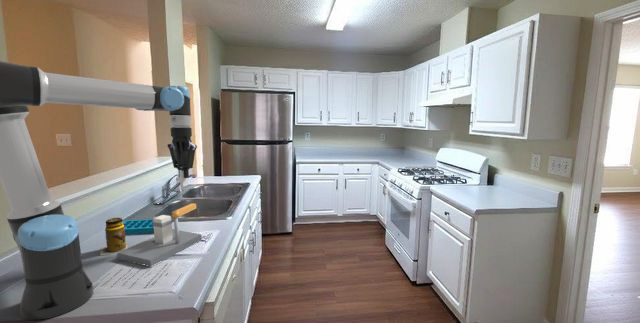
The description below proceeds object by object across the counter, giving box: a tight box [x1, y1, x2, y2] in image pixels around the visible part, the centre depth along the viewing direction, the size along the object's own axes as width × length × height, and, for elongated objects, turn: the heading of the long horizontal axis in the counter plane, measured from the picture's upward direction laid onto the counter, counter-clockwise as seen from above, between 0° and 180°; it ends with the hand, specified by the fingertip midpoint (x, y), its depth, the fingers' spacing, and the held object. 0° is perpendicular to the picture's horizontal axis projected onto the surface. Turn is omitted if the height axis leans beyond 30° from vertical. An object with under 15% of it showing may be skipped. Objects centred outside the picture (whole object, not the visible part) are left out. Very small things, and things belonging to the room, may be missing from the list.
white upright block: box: [152, 214, 173, 244], centre depth 116 cm, size 5×5×12 cm
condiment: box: [99, 217, 128, 256], centre depth 113 cm, size 7×8×12 cm
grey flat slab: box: [117, 228, 203, 267], centre depth 114 cm, size 24×16×2 cm, turn 160°
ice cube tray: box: [122, 218, 154, 235], centre depth 134 cm, size 12×20×3 cm, turn 100°
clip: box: [171, 203, 197, 243], centre depth 118 cm, size 2×12×12 cm, turn 166°
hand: (184, 185), depth 119 cm, fingers closed
